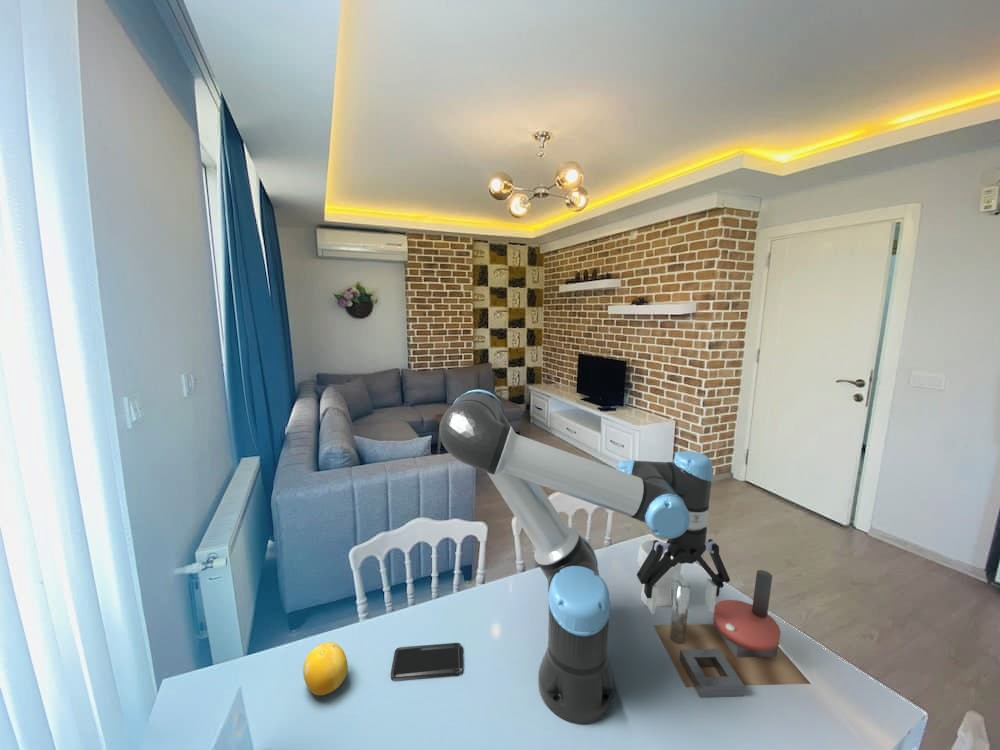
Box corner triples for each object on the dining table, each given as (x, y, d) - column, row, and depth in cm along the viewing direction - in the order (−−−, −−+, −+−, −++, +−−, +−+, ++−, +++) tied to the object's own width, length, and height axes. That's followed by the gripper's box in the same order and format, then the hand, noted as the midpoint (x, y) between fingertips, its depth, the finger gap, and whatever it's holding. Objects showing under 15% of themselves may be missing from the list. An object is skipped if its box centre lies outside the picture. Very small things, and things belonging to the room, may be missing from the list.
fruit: (357, 679, 84) (355, 646, 83) (323, 712, 77) (320, 676, 76) (330, 660, 89) (327, 628, 87) (295, 690, 82) (292, 655, 80)
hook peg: (673, 644, 92) (679, 586, 89) (664, 627, 97) (669, 571, 94) (687, 644, 92) (693, 586, 89) (677, 626, 97) (682, 571, 94)
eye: (700, 697, 79) (701, 686, 79) (679, 659, 88) (680, 649, 87) (742, 696, 79) (744, 685, 79) (718, 658, 88) (719, 648, 88)
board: (685, 693, 82) (687, 674, 81) (652, 630, 97) (654, 614, 97) (809, 689, 83) (812, 670, 82) (757, 628, 98) (759, 612, 98)
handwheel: (700, 617, 95) (705, 571, 93) (736, 600, 101) (741, 556, 99) (755, 660, 84) (762, 608, 82) (792, 638, 89) (799, 589, 87)
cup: (670, 588, 112) (674, 538, 110) (683, 617, 102) (688, 563, 99) (631, 585, 113) (634, 536, 111) (640, 614, 103) (644, 560, 100)
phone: (462, 672, 85) (389, 678, 84) (462, 677, 85) (389, 683, 84) (462, 641, 93) (395, 646, 91) (462, 646, 93) (395, 651, 91)
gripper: (638, 532, 84) (632, 622, 88) (754, 531, 85) (743, 619, 89) (625, 514, 92) (620, 597, 95) (733, 513, 93) (723, 595, 96)
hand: (680, 608), depth 92 cm, fingers open, 13 cm apart
